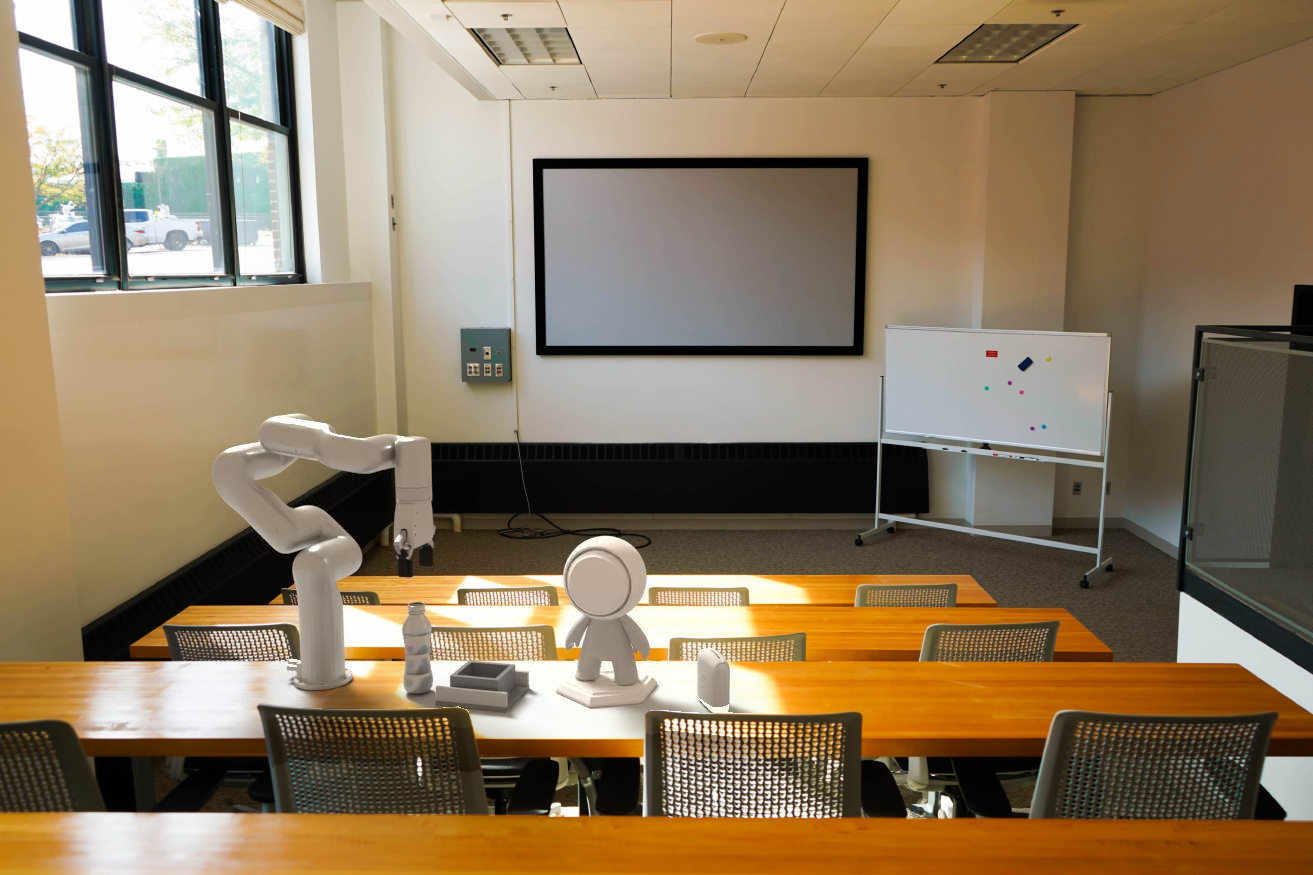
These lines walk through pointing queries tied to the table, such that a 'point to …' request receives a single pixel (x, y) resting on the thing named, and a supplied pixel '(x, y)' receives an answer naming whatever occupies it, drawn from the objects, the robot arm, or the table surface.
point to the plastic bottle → (417, 650)
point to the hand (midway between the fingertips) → (416, 571)
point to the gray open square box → (484, 686)
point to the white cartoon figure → (606, 623)
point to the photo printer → (713, 678)
